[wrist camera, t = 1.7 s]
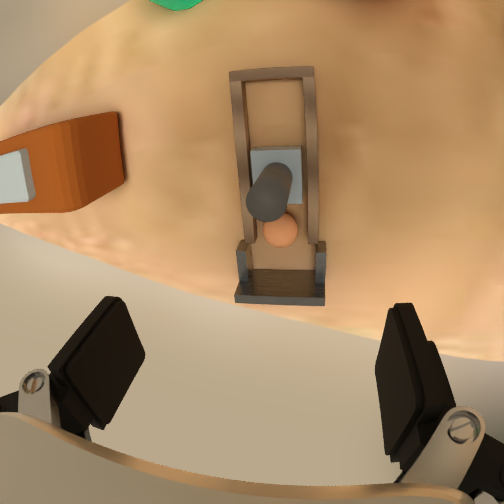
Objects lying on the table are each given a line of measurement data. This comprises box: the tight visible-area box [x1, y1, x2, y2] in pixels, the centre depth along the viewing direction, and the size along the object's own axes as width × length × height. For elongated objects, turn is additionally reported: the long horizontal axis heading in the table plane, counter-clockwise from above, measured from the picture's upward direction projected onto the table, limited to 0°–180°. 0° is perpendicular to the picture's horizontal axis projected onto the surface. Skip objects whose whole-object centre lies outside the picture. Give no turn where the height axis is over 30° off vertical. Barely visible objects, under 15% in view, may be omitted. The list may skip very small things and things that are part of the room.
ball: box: [263, 213, 298, 247], centre depth 30 cm, size 3×3×3 cm
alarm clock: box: [0, 112, 124, 214], centre depth 27 cm, size 24×8×11 cm, turn 91°
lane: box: [229, 66, 319, 244], centre depth 27 cm, size 17×7×2 cm, turn 5°
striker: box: [246, 146, 303, 222], centre depth 24 cm, size 5×4×9 cm
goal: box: [234, 240, 326, 306], centre depth 31 cm, size 5×9×5 cm, turn 94°
